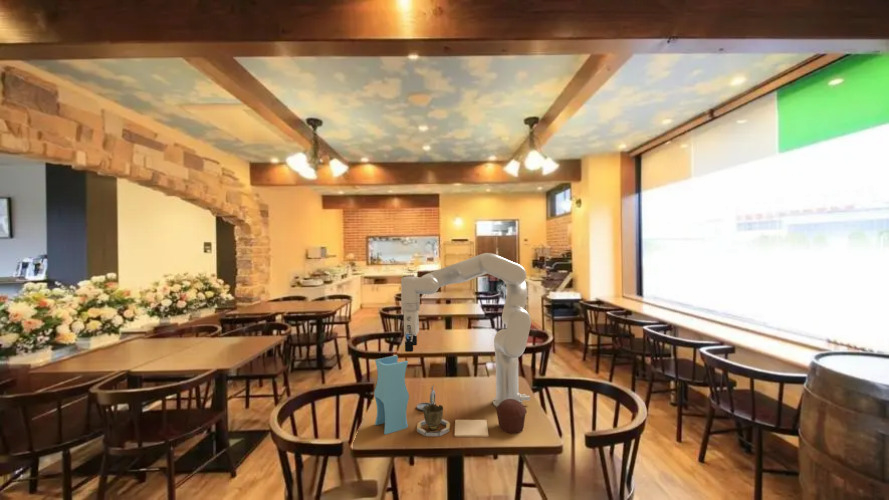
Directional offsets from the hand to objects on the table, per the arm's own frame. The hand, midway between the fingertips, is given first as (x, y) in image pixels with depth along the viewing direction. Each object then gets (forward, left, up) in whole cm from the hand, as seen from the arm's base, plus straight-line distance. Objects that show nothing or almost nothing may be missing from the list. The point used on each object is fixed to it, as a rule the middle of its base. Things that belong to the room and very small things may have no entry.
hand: (411, 348), depth 161 cm
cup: (-10, +15, -26) cm, 32 cm away
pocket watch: (-6, -3, -27) cm, 27 cm away
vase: (+6, +13, -26) cm, 30 cm away
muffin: (-39, +14, -27) cm, 49 cm away
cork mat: (-24, +15, -26) cm, 38 cm away
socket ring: (-10, +15, -26) cm, 32 cm away
